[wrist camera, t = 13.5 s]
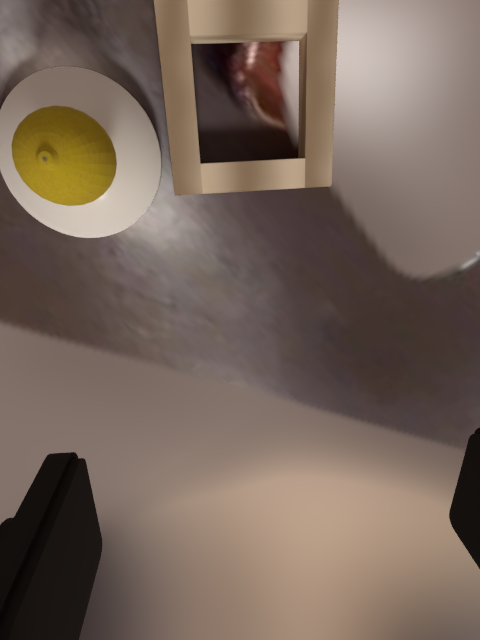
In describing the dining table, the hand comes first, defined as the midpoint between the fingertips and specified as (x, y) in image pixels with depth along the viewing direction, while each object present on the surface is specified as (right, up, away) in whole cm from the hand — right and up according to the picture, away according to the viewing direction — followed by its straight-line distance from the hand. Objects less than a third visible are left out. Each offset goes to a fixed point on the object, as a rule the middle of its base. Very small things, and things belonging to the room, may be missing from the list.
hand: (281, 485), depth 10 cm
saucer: (-12, +16, +19) cm, 27 cm away
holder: (0, +20, +19) cm, 27 cm away
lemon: (-12, +15, +18) cm, 27 cm away
